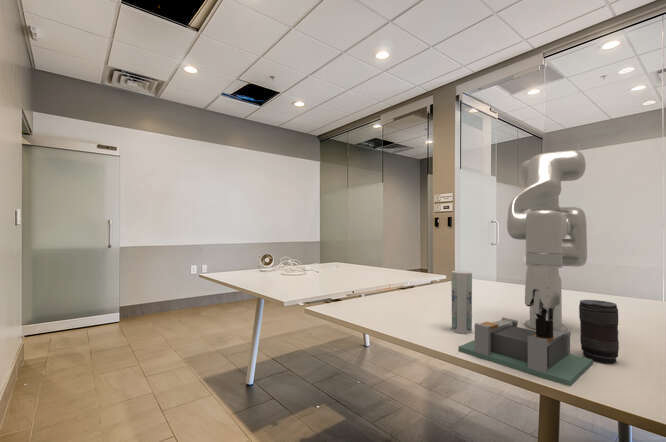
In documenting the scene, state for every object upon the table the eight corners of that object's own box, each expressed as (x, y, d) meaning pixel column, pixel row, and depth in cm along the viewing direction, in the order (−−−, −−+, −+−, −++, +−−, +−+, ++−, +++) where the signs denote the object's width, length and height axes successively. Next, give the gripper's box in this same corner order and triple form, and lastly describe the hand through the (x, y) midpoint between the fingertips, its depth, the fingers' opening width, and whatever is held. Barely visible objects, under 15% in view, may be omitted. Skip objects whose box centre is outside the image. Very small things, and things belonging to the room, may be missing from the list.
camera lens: (580, 350, 91) (579, 297, 92) (618, 358, 86) (617, 302, 86) (579, 359, 85) (578, 302, 85) (620, 367, 80) (619, 307, 80)
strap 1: (502, 322, 97) (502, 316, 97) (513, 325, 94) (513, 319, 94) (478, 330, 88) (479, 323, 88) (490, 333, 85) (490, 326, 85)
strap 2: (552, 333, 86) (552, 326, 87) (566, 336, 84) (566, 329, 84) (531, 343, 77) (531, 336, 78) (546, 347, 75) (546, 339, 75)
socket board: (489, 337, 102) (489, 310, 102) (592, 364, 82) (592, 330, 82) (458, 350, 90) (458, 320, 90) (569, 386, 70) (569, 346, 70)
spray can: (451, 327, 112) (451, 270, 113) (471, 329, 110) (471, 271, 111) (451, 332, 106) (451, 272, 107) (472, 335, 104) (472, 273, 105)
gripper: (537, 258, 86) (538, 327, 86) (514, 260, 77) (515, 337, 76) (571, 260, 81) (572, 334, 80) (550, 262, 71) (551, 346, 70)
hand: (544, 336), depth 78 cm, fingers closed
